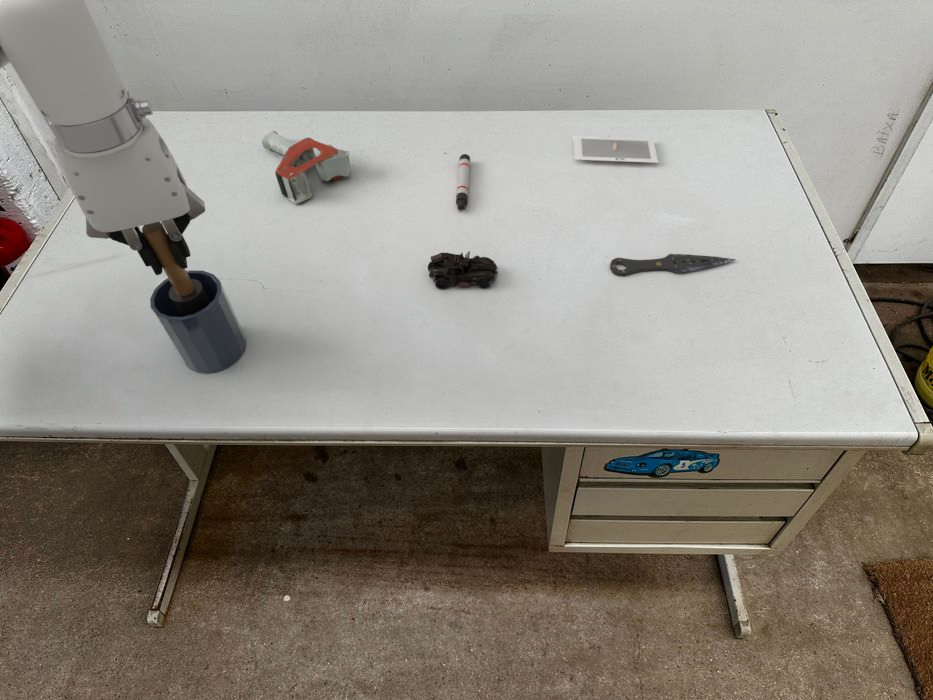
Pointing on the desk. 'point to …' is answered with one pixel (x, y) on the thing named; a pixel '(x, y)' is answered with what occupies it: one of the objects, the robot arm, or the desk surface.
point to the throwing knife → (667, 263)
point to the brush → (176, 273)
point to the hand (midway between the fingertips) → (171, 263)
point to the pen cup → (201, 326)
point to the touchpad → (614, 149)
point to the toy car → (461, 270)
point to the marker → (463, 181)
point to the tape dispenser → (304, 164)
